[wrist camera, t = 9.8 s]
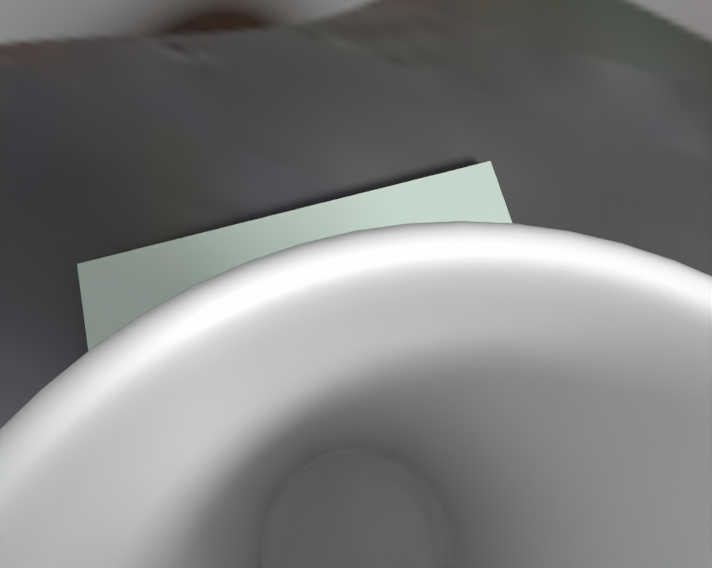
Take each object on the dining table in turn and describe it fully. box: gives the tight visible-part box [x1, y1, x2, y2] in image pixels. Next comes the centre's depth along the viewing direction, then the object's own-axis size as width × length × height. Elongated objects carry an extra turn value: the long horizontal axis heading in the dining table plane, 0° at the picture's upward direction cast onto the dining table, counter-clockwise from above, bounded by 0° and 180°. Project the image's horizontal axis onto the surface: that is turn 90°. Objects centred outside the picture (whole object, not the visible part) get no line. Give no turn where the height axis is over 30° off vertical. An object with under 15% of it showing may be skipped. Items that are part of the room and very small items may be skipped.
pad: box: [77, 161, 512, 351], centre depth 17 cm, size 20×14×1 cm
